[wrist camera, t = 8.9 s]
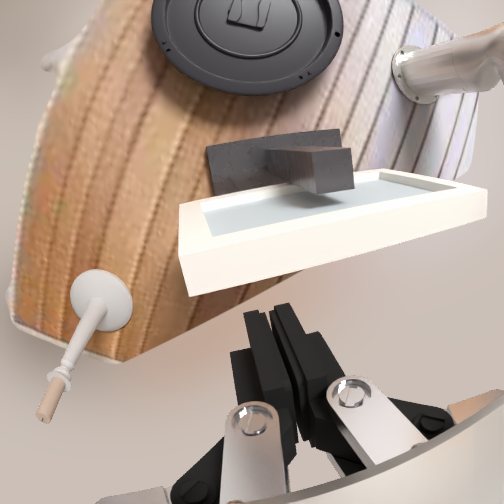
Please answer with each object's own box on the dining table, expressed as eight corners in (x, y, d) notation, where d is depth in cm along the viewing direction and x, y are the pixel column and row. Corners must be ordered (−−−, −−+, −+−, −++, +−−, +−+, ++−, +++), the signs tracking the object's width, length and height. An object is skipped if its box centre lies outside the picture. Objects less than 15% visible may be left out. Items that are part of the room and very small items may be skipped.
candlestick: (120, 262, 50) (54, 377, 22) (142, 324, 55) (111, 454, 27) (61, 276, 49) (-21, 379, 21) (86, 333, 54) (34, 449, 26)
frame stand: (335, 129, 48) (419, 124, 27) (341, 179, 51) (424, 206, 30) (206, 146, 46) (207, 145, 25) (216, 200, 50) (226, 244, 28)
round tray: (137, 88, 42) (316, 118, 48) (129, 81, 36) (330, 116, 42) (181, -49, 33) (339, -16, 39) (180, -66, 27) (352, -29, 33)
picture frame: (382, 168, 43) (487, 189, 24) (384, 187, 44) (486, 217, 25) (179, 204, 38) (178, 256, 19) (184, 226, 39) (189, 297, 20)
